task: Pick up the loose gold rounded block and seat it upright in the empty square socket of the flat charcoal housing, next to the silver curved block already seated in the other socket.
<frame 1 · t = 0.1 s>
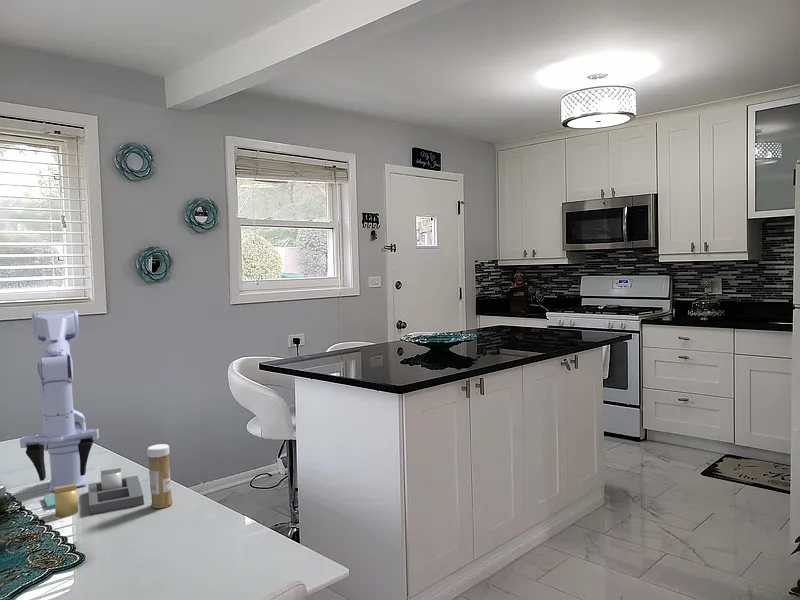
hand: (63, 476, 135), 10 cm above the table, fingers open, 7 cm apart
lid plate: (57, 501, 148), on the table
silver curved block: (112, 493, 152), resting in housing
spice jar: (161, 506, 143), on the table
housing: (115, 497, 149), on the table
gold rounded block: (67, 513, 141), on the table
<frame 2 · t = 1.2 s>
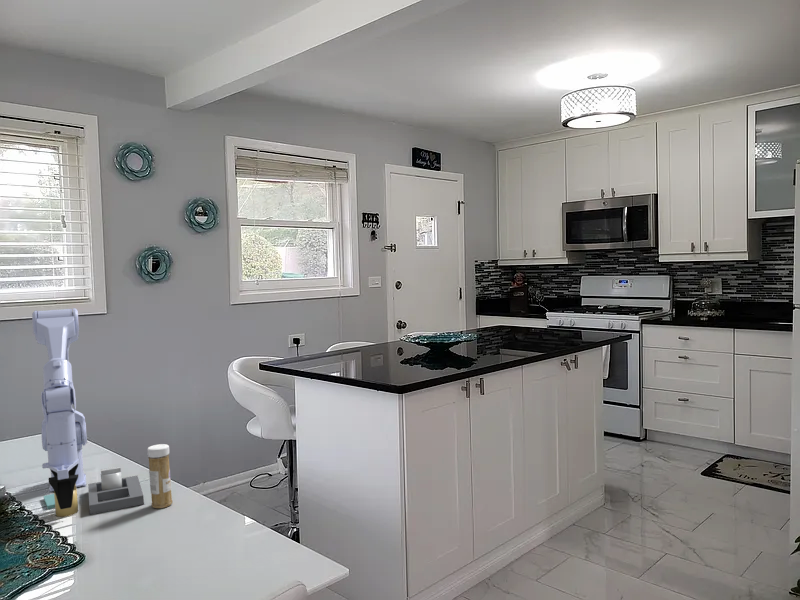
hand: (66, 502, 141), 2 cm above the table, fingers open, 7 cm apart
nothing on the table moved.
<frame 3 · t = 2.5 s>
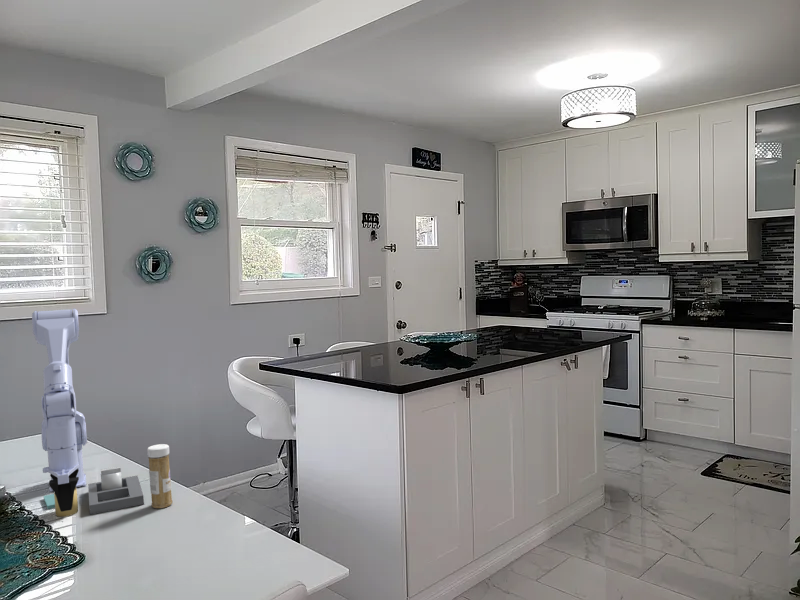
hand: (66, 506, 141), 1 cm above the table, fingers closed on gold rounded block, 4 cm apart
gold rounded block: (67, 512, 141), on the table, touching gripper
everything else where it was.
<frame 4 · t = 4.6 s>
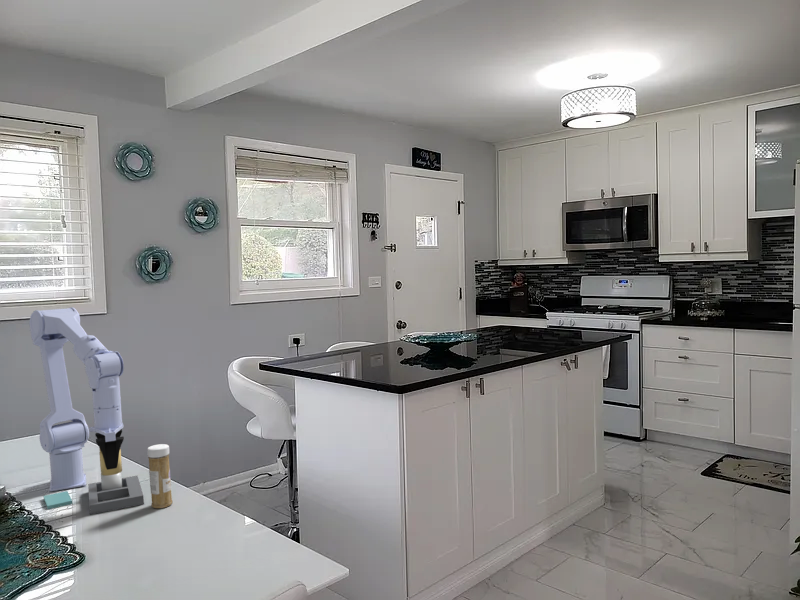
hand: (111, 465, 145), 9 cm above the table, fingers closed on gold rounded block, 4 cm apart
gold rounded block: (111, 472, 145), point 7 cm above the table, touching gripper
everything else where it was.
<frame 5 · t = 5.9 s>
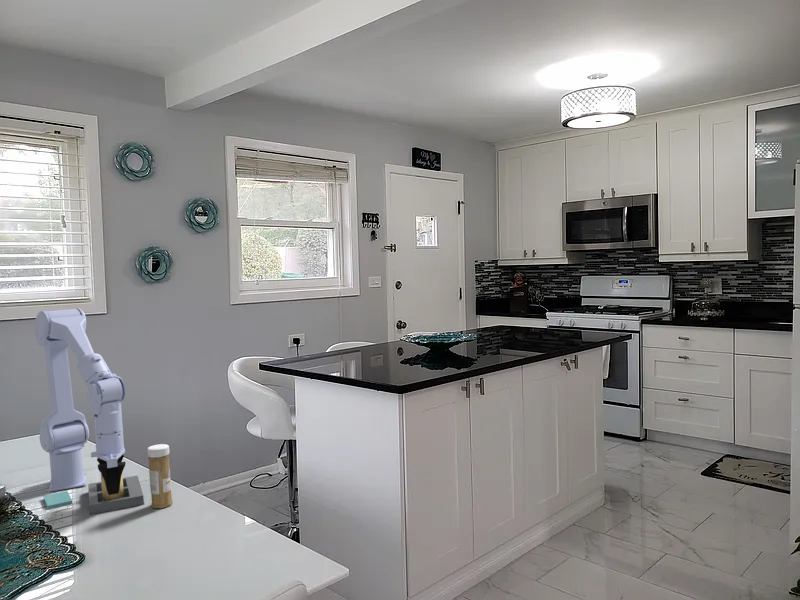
hand: (113, 490, 145), 3 cm above the table, fingers closed on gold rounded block, 4 cm apart
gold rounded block: (113, 497, 145), point 2 cm above the table, touching gripper
everything else where it was.
when the fingers open (3 cm above the table, at t = 6.8 s): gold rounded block drops 1 cm, resting in housing.
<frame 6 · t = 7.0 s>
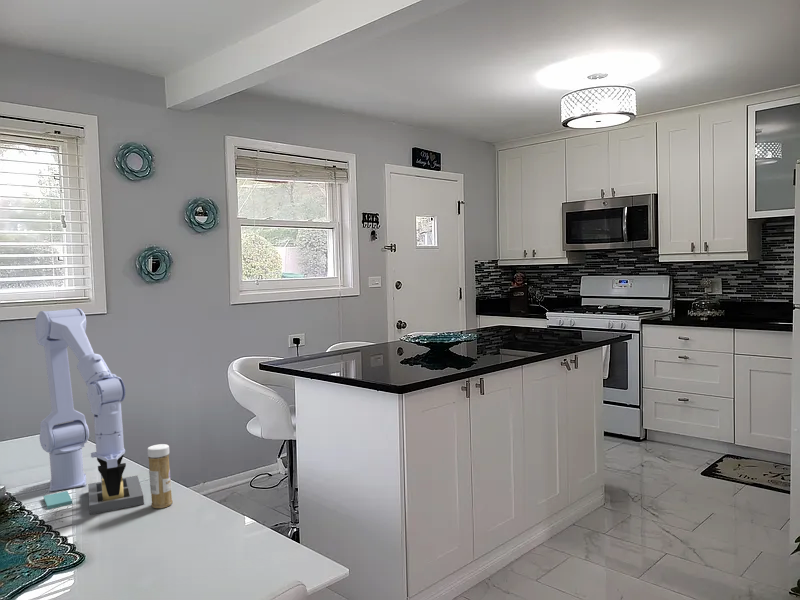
hand: (113, 490, 145), 3 cm above the table, fingers open, 6 cm apart
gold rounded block: (113, 503, 145), resting in housing
everything else where it was.
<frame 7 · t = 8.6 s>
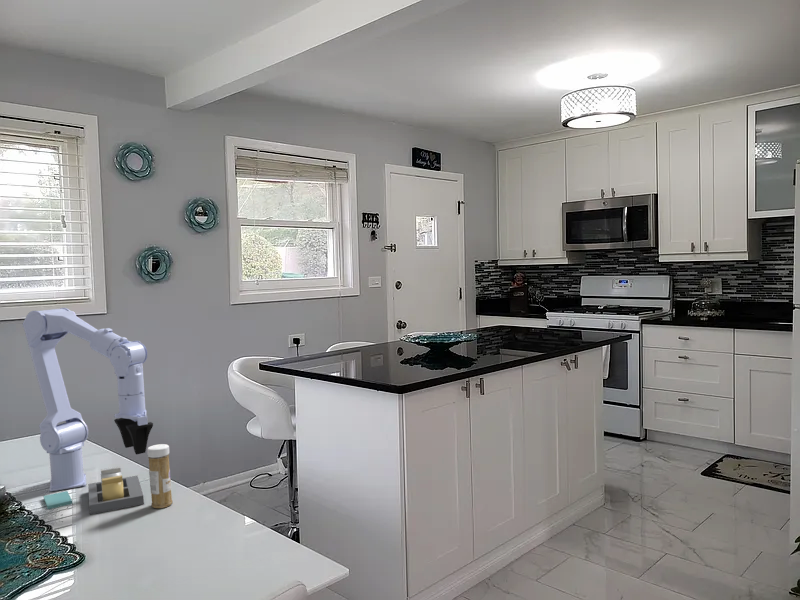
hand: (135, 450, 151), 10 cm above the table, fingers open, 7 cm apart
nothing on the table moved.
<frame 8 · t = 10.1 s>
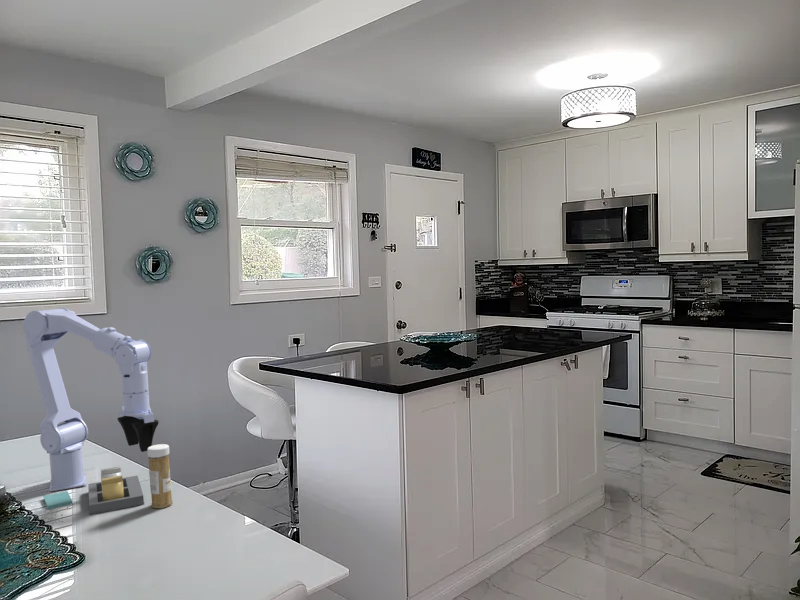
hand: (139, 447, 153), 10 cm above the table, fingers open, 7 cm apart
nothing on the table moved.
at the end: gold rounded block 0.1 cm from the target spot, resting in housing; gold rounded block tilted 0°; the gripper is holding nothing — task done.
